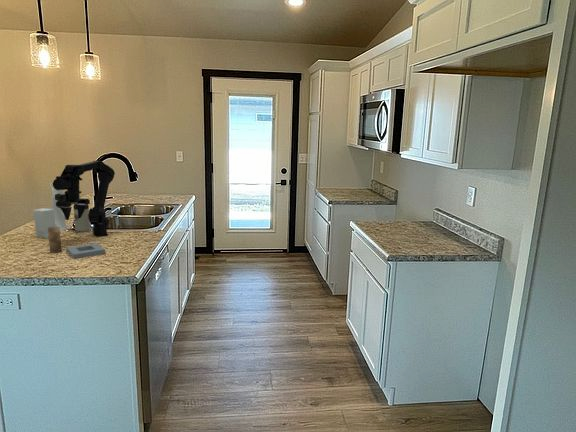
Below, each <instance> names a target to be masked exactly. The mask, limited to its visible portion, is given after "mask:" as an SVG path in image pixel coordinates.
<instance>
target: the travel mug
mask: <svg viewBox="0 0 576 432" xmlns="http://www.w3.org/2000/svg"><path fill="white" fill-rule="evenodd" d="M86 205H88V206H87V207H86V209H85V211H84V213H83V215H82V216H81V218H78V208H77V207H76V204H73V205H72V206H73V217H74V230H75V232H79V231H80V232H82V231H83V232H88V231H90V230H91V224H90V221H89V219H88V214H89V210H90V207H89V204H86Z"/></svg>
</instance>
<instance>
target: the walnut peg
mask: <svg viewBox="0 0 576 432" xmlns="http://www.w3.org/2000/svg"><path fill="white" fill-rule="evenodd" d="M48 235H49V238H48V243H49V245H48V246H49V253H51V254H59V253H62V251H63V250H62V238H61V237H62V236H61V231H60V227H50V228H48Z"/></svg>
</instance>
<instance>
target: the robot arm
mask: <svg viewBox="0 0 576 432" xmlns="http://www.w3.org/2000/svg"><path fill="white" fill-rule="evenodd" d="M93 170H94V171H95V173H97V179H98V181H99V184H98V189H97V193H96V197H95V202H94V206H93V207H92V208H89V214H88V219H89V221H90V226H92V225H93V226H92V235H93V236H95V237H96V238H97V237H103V236H104V237H105V236H108V235H109V234H108V230H107V227H108V225H109V224H110V220H109V219H108V218H107V216H106V215H107V214H106V211H105V204H106V201H107V196H108V191H109V190H108V189H109V187H110V186H109V185H110V184H111V182H112V181H113V180H114V178H115V173H116V172H115V170H114V169H113V168H112V167H111V166H110V165H107V164H106V163H104V161H102V160H93V161H90V162H85V163H81V164H66V165H65V166H64V169H63V170H62V171H61V174H60V176H58V175H57V176H55V179H54V180H53V182H52V183H53V184H52V187H54V188H55V189H56V190H63V191H64V194H63V195H61V194H55V200H56V201H57V200H58V201H57V202H56V206H57V207H58V208H60V209H61V210H62V211H63V213H64V216H65V218H66V220H65V221H69V220H70V217H71V212H72V206H74V204H76V207H77V208H78V218H81V216H82V215H83V213H84V211H85V209H86V207H87V206H89V205H90V204H91V202H90V199H89V198H80V197H81V196H80V194H82V191H81V190H80V181H83V178H81V176H82V175H83V174H84V173H85V172H86V173H87V172H90V171H93ZM86 204H88V205H86Z"/></svg>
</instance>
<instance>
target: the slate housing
mask: <svg viewBox="0 0 576 432" xmlns="http://www.w3.org/2000/svg"><path fill="white" fill-rule="evenodd" d="M65 250H66V253H67V254H68V255H69V256H70V257H71V258H72V259H73V260H75V259H80V258H88V257H93V256H94V257H95V256H101V255H105V254H106V249H105V248H103V247H102V246H101V245H99V244H98V243H95V242H94V243H87V244H81V245H74V246H67V247H66V248H65Z"/></svg>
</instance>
